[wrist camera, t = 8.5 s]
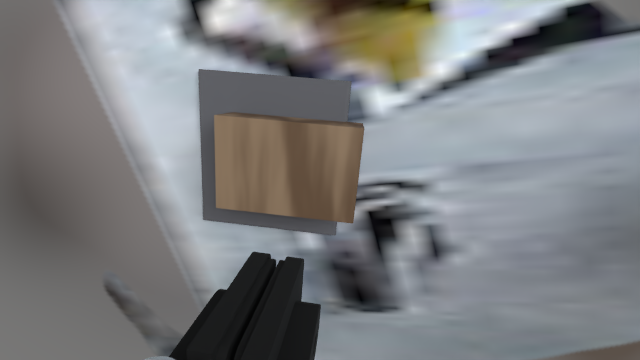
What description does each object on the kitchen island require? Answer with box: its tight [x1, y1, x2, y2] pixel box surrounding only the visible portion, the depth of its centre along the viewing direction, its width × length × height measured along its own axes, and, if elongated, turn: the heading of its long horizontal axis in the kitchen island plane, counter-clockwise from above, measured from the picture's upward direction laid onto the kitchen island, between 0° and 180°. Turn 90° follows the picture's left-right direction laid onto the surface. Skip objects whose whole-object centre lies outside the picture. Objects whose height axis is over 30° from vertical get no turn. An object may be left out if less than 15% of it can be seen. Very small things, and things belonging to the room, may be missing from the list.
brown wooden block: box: [214, 112, 364, 223], centre depth 27 cm, size 4×8×12 cm
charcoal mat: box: [199, 69, 351, 235], centre depth 30 cm, size 14×15×1 cm
